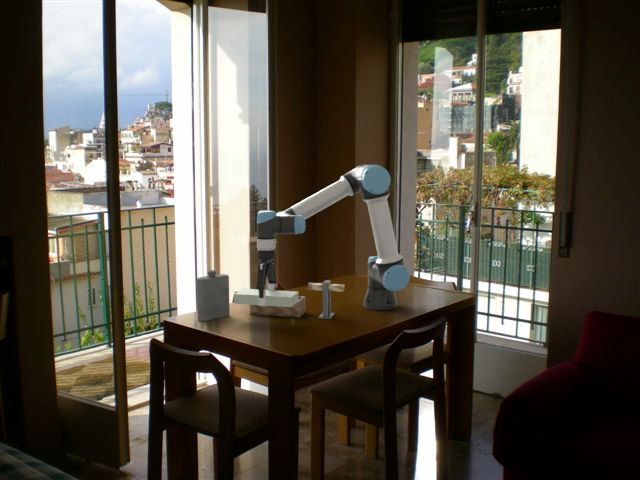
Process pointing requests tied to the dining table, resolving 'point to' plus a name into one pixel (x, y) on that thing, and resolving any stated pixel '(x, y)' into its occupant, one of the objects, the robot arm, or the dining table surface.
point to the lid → (267, 297)
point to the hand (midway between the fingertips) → (266, 302)
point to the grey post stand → (326, 301)
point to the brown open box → (280, 309)
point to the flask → (212, 296)
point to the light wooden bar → (330, 287)
